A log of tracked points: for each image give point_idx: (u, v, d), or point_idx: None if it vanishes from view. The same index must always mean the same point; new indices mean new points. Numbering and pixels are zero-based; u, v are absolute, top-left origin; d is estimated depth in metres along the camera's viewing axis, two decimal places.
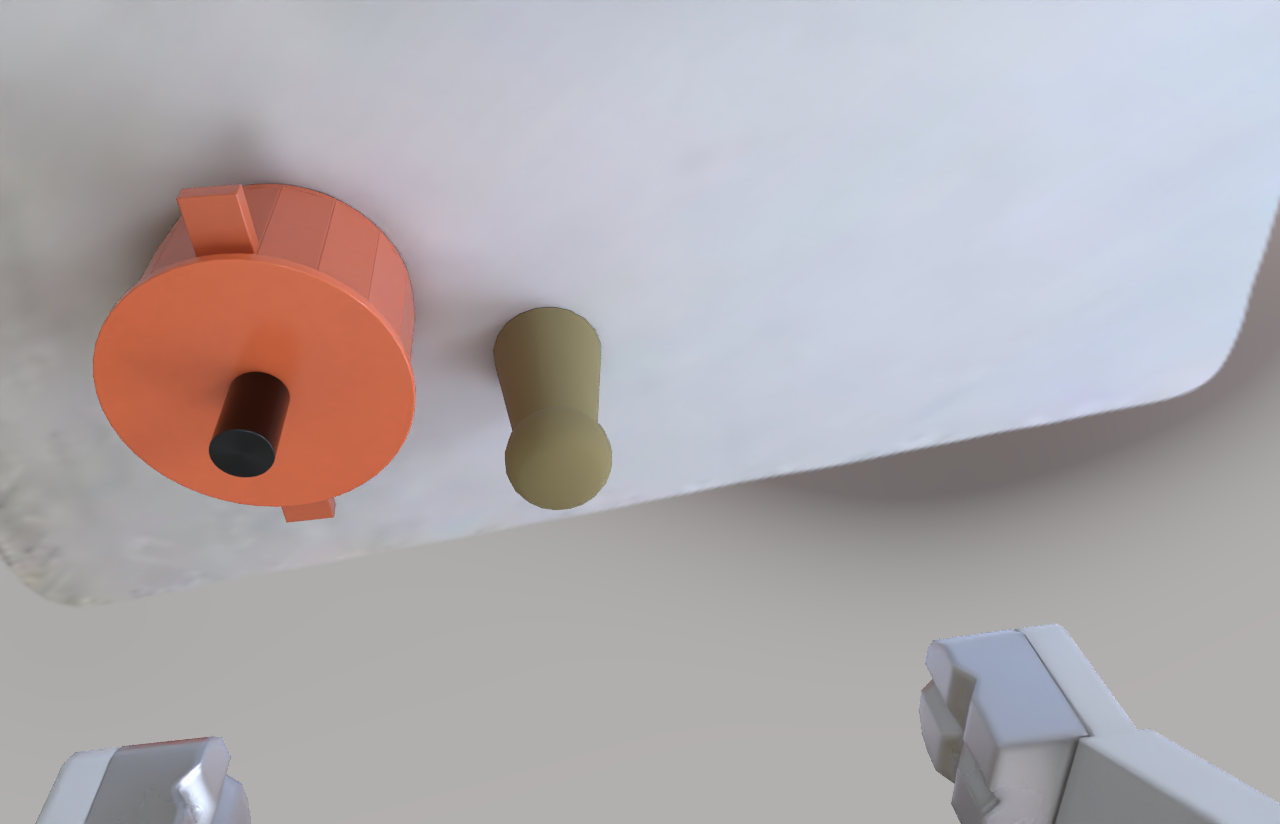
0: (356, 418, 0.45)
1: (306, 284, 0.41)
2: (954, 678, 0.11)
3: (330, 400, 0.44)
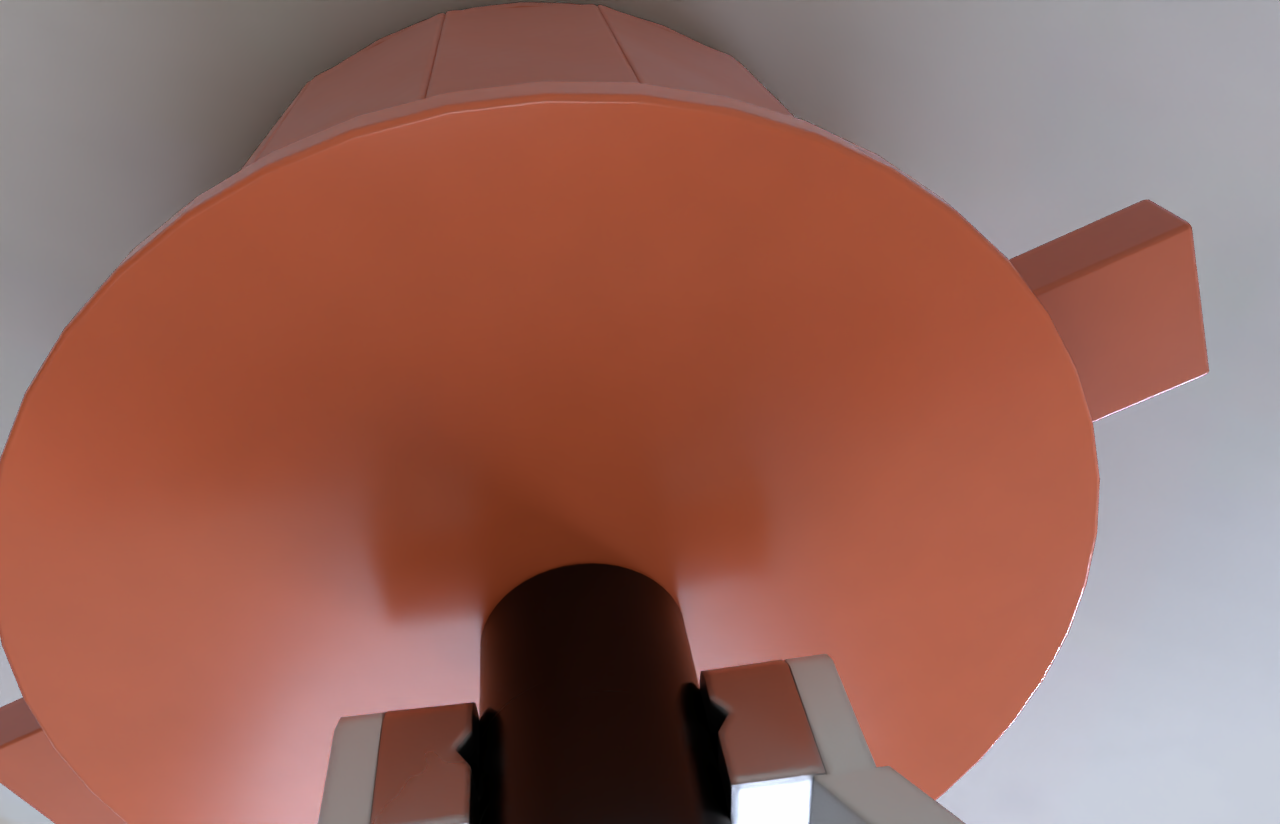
0: None
1: (1030, 642, 0.13)
2: (712, 711, 0.10)
3: None
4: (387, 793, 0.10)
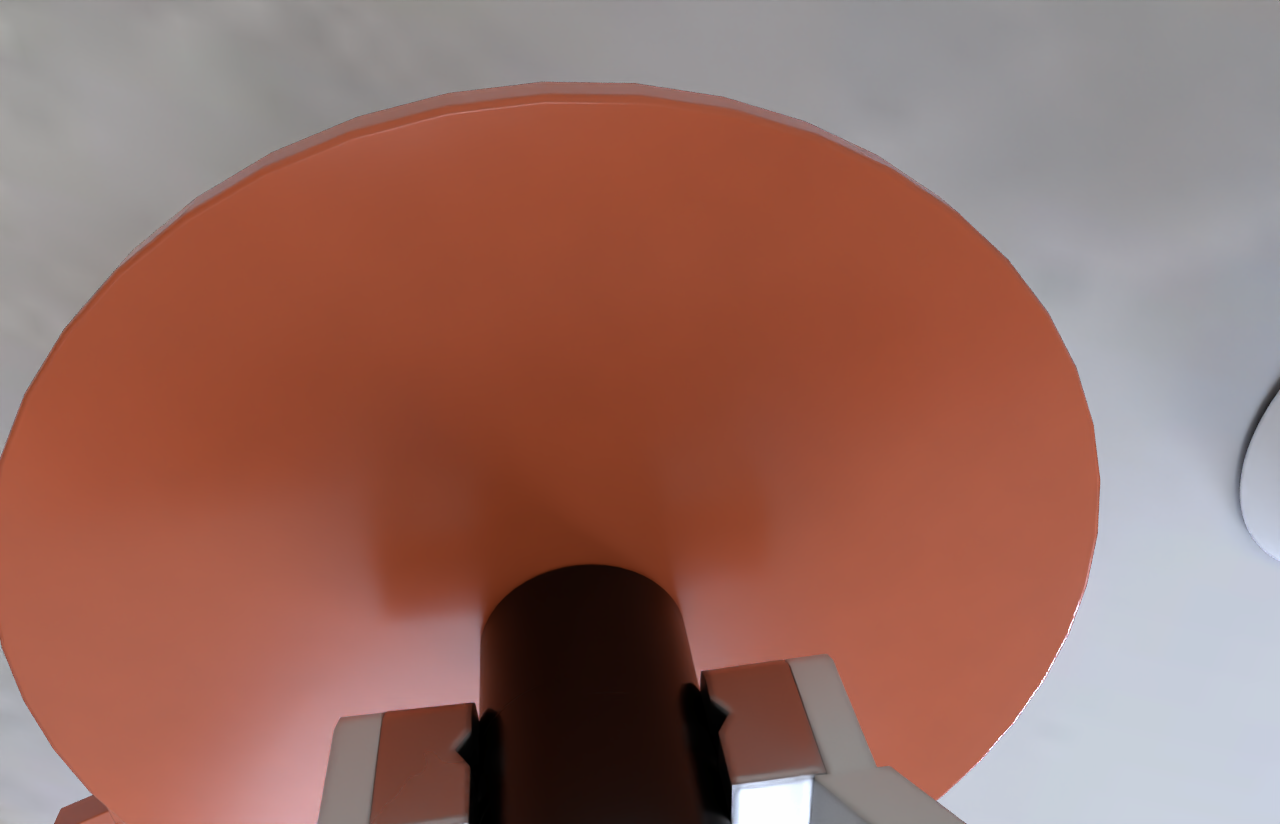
0: None
1: (1030, 644, 0.13)
2: (712, 711, 0.10)
3: None
4: (386, 793, 0.10)
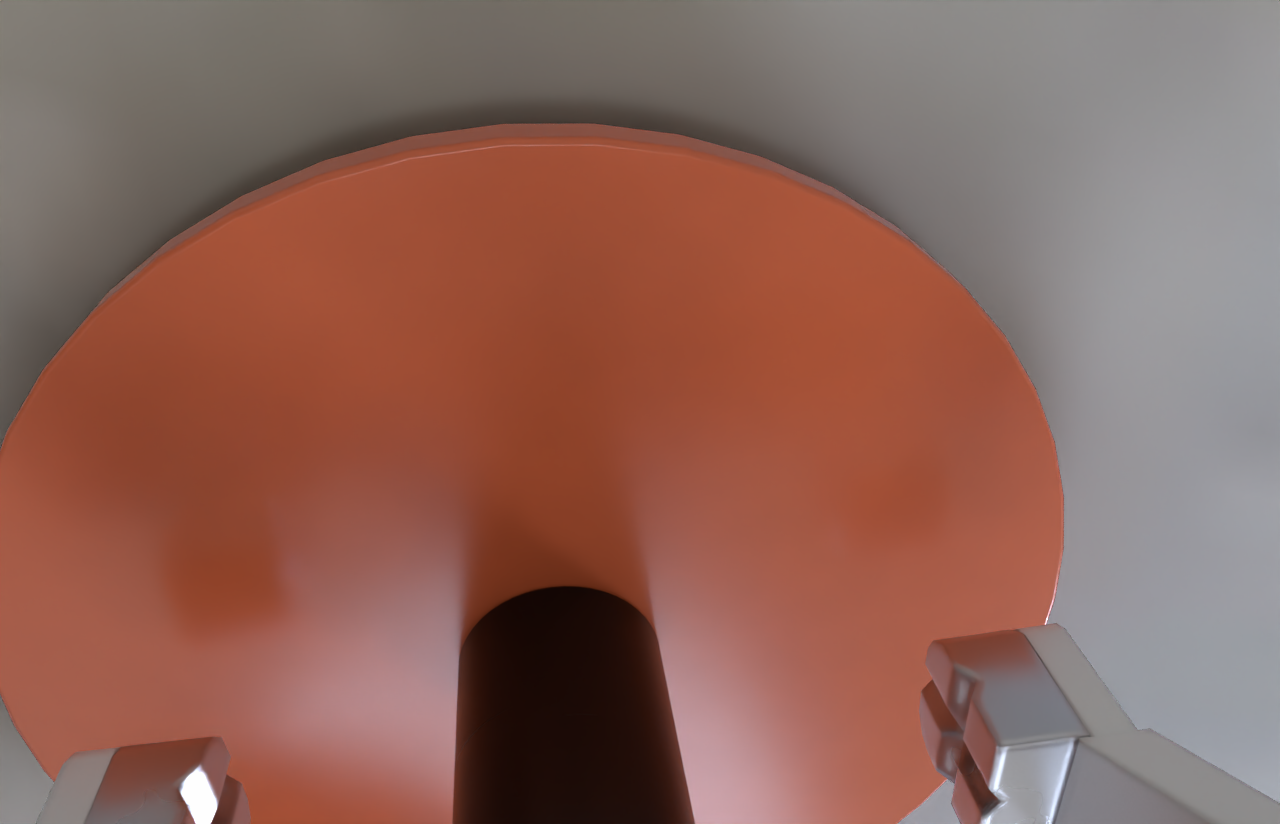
0: None
1: None
2: (954, 678, 0.11)
3: None
4: None
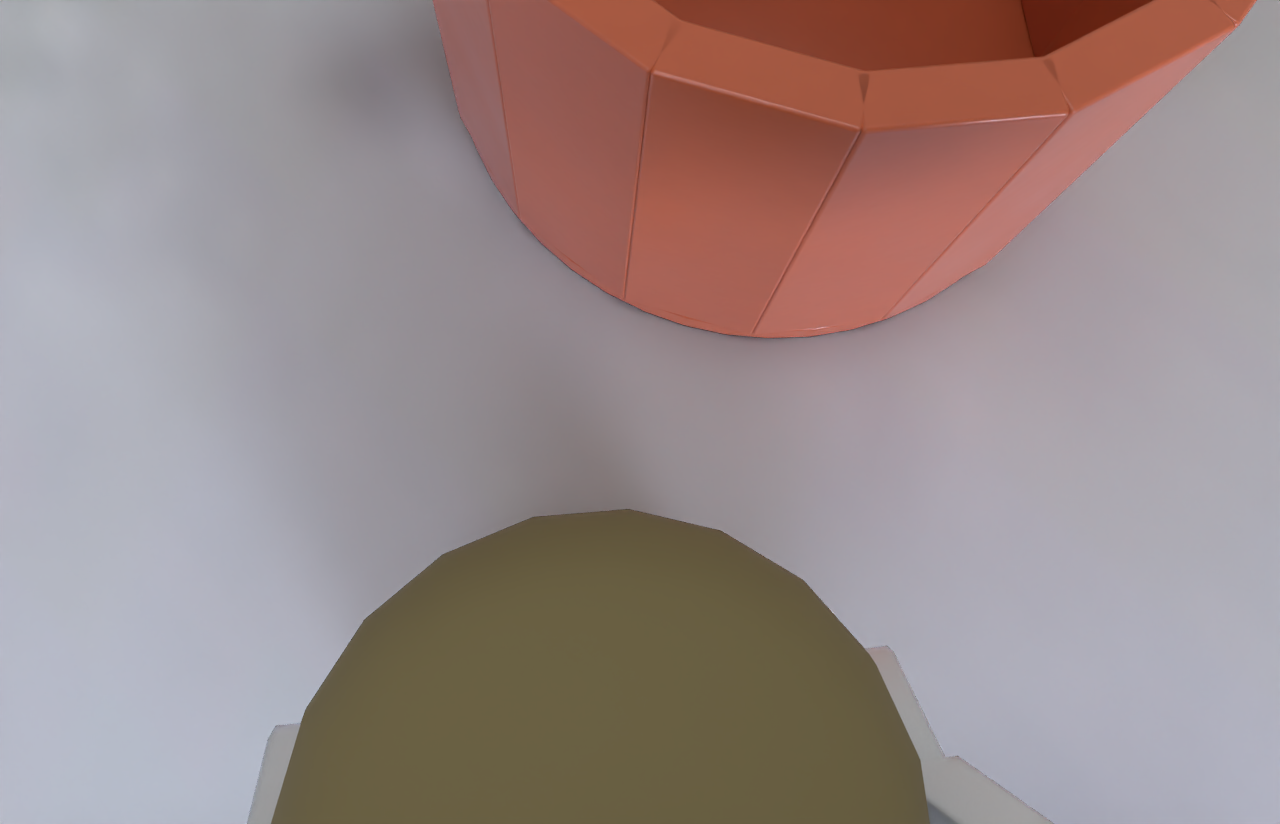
0: None
1: None
2: None
3: None
4: None
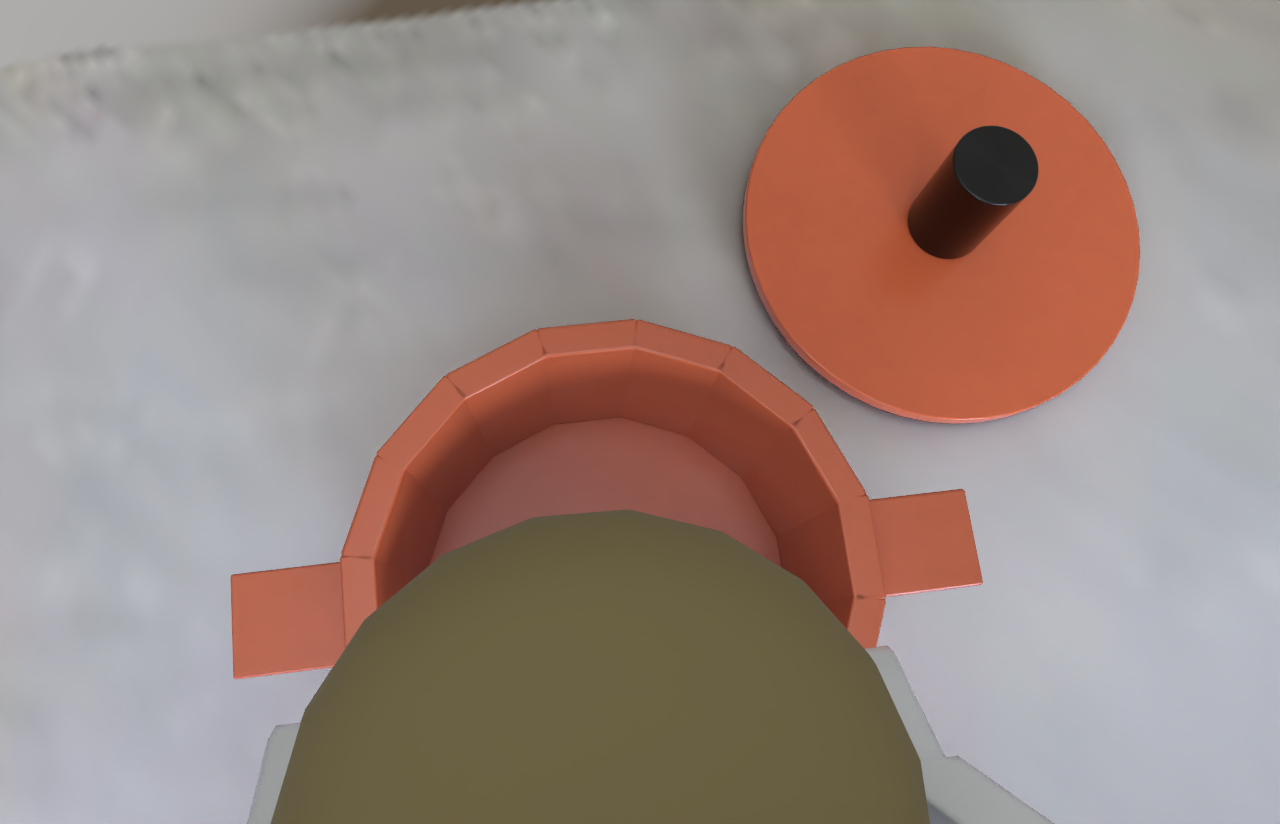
0: (914, 339, 0.32)
1: (1116, 297, 0.33)
2: None
3: (942, 308, 0.32)
4: None
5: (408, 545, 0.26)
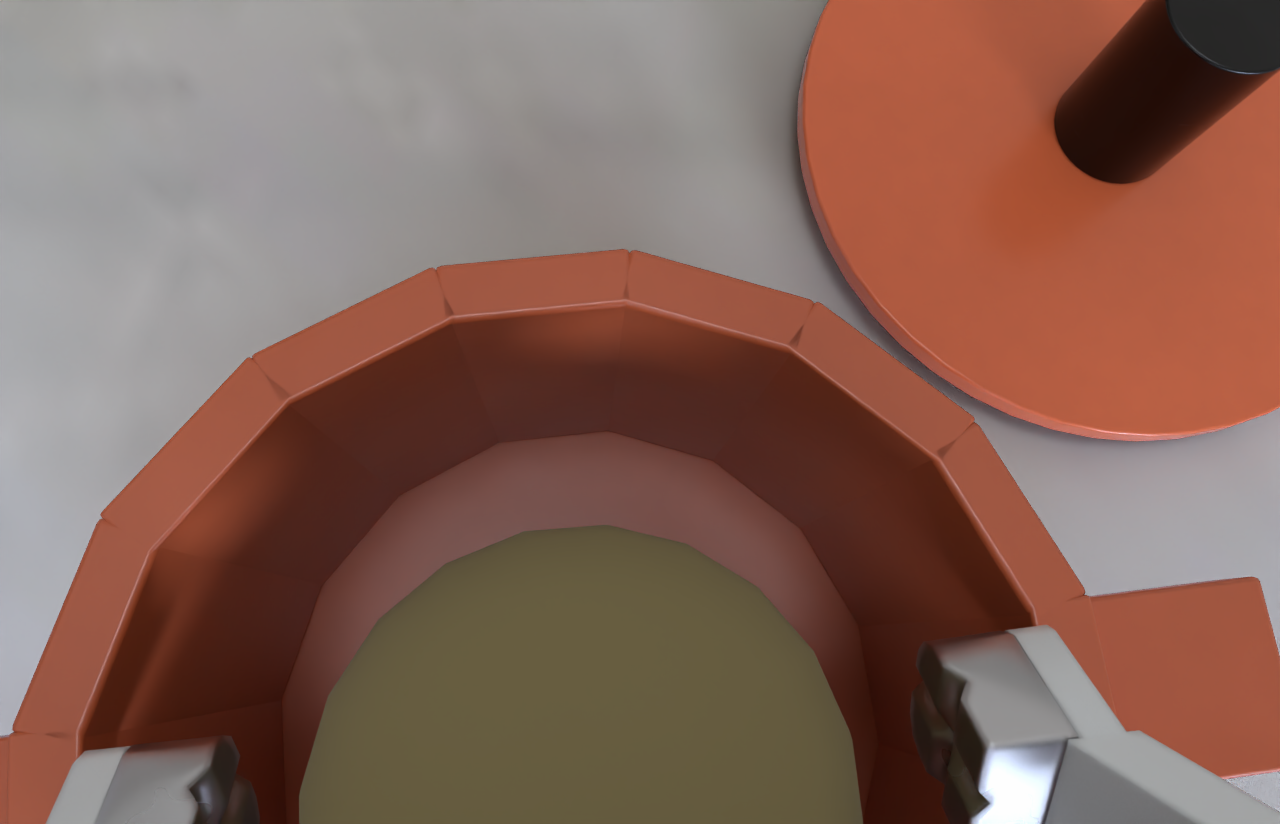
0: (1072, 307, 0.20)
1: None
2: (943, 679, 0.11)
3: (1114, 260, 0.20)
4: None
5: (212, 671, 0.14)
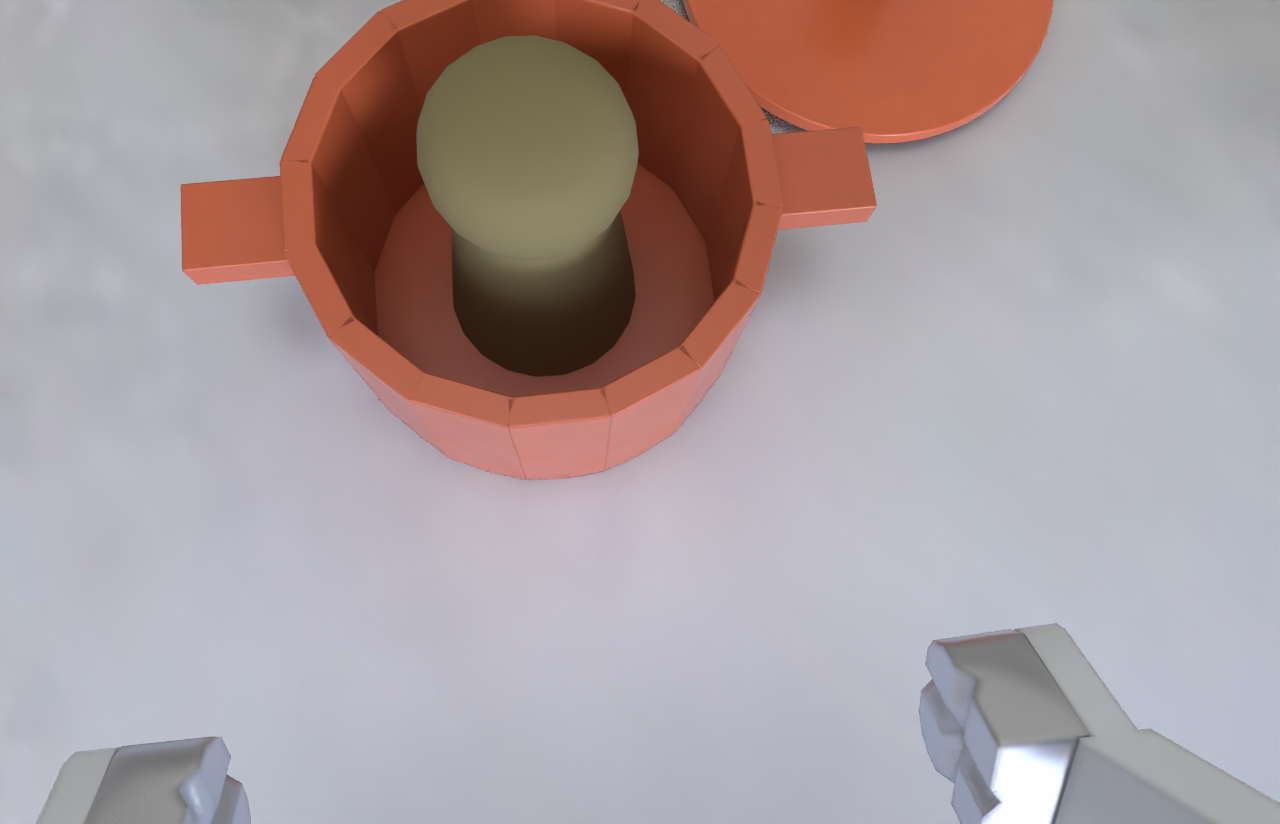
0: (837, 64, 0.34)
1: (1030, 30, 0.34)
2: (954, 678, 0.11)
3: (865, 37, 0.34)
4: None
5: (351, 197, 0.28)
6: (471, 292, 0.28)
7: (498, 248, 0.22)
